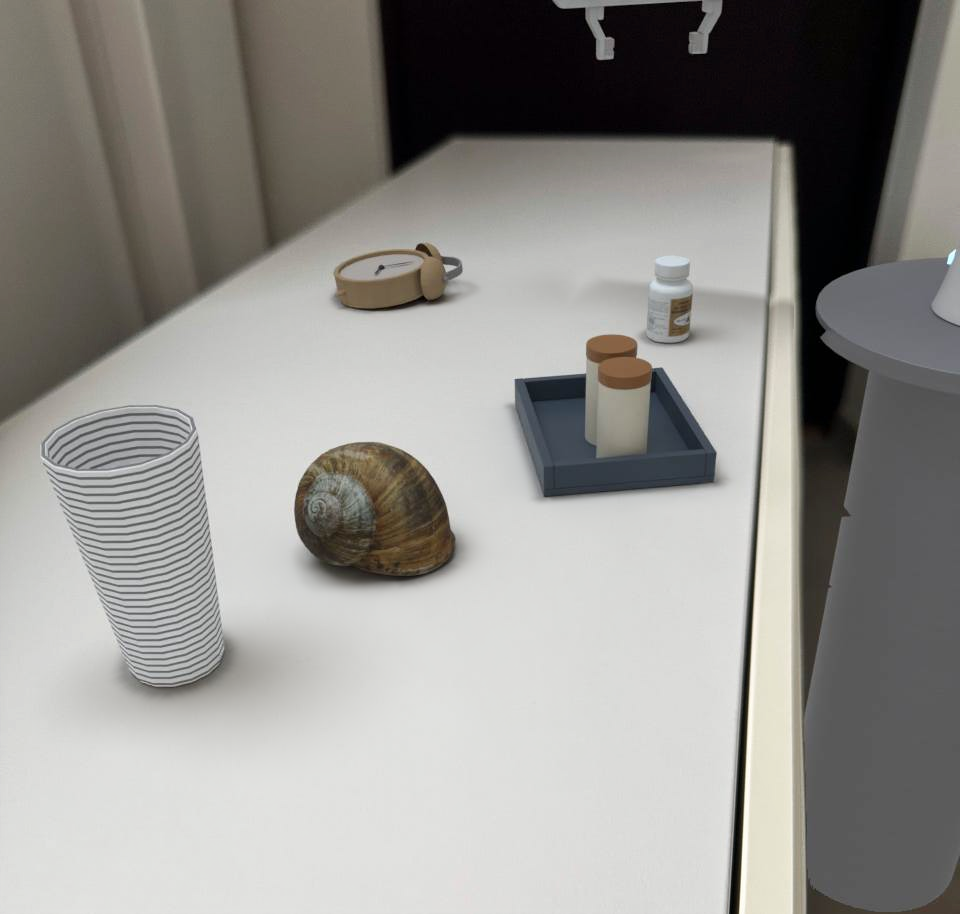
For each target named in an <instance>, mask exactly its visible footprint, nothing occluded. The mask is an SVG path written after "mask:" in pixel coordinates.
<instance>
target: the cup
mask: <svg viewBox="0 0 960 914" xmlns="http://www.w3.org/2000/svg"><path fill="white" fill-rule="evenodd" d="M195 420H196V419H195V418H194V417H192V416H191V415H189V414H188V413H186V412H184V411H182V410H181V409H179V408H174V407H169V406H163V405H160V404H159V405H158V404H135V405H133V404H132V405H130V404H128V405H124V406H117V407H111V408H105V409H99V410H97V411H93V412H90V413H87V414H84V415H80V416H77V417H75V418H72V419H70V420H69V421H67V422H65V423H63V424H61V425H60V426H58V427H56V428H54V429H52V430H51V432H50V433H48V435H47V436H46V437H45V439H43V441H42V442H41V443H40V447H39V448H40V449H39V450H40V459H41V463H42V464H43V467H44V469H45V472H46V474H47V476H48V479H49V482H50V483H51V485H52V489H53V490H54V493H55V496H56V498H57V500H58V502H59V506H60V507H61V510H62V512H63V514H64V517H65V519H66V521H67V525H68V527H69V529H70V531H71V534H72V536H73V538H74V541H75V544H76V546H77V548H78V551H79V553H80V555H81V557H82V560H83V562H84V565H85V567H86V570H87V572H88V574H89V578H90V579H91V582H92V584H93V586H94V588H95V591H96V594H97V596H98V598H99V601H100V603H101V606H102V608H103V611H104V613H105V615H106V618H107V620H108V622H109V625H110V628H111V630H112V632H113V634H114V637H115V639H116V643H117V644H118V647H119V648H120V651H121V654H122V656H123V658H124V661H125V663H126V666H127V668H128V670H129V673H131V675H133V676H134V678H135V679H137V680H138V681H139V682H140V683H142V684H145V685H149V686H152V687H154V688H155V687H156V688H157V687H158V688H159V687H160V688H161V687H164V688H165V687H168V688H169V687H172V688H173V687H177V686H182V685H186V684H190V683H194V682H196V681H197V680H199V679H201V678H204V677H206V676H208V675H209V674H210V673H211V672H212V671H214V670H215V669H216V668H217V667H218V666H219V665H220V663H221V661H222V659H223V657H224V654H225V651H226V649H225V642H224V634H223V633H224V632H223V625H222V624H223V623H222V618H221V609H220V601H219V592H218V585H217V575H216V569H215V568H216V567H215V559H214V553H213V545H212V536H211V528H210V519H209V512H208V511H209V510H208V504H207V496H206V488H205V478H204V471H203V463H202V455H201V446H200V439H199V431H198V427H197V424H196V421H195Z"/></svg>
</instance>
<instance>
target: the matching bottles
mask: <svg viewBox="0 0 960 914" xmlns="http://www.w3.org/2000/svg"><path fill="white" fill-rule="evenodd" d="M638 346H639V345H638V342H637V340H636V339H635V338H633V337H631V336H628V335H623V334H613V333H612V334H609V333H608V334H600V335H597V336H593V337H590V338H589V339H588V340H587V341H586V343H585V356H586V357H585V358H586V360H585V361H586V362H585V363H586V364H585V373H586V407H585V439H586V440H587V442H589V443H590V444H593V445H595V446H597V448H596V458H603V457H615V456H627V455H639V454H646V452H647V435H648V418H649V401H650V384H651V378H652V368H653V366H652V364H651V363H650V362H649V361H647V360H645V359H642V358H639V357H637V356H638Z"/></svg>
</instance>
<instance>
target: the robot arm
mask: <svg viewBox="0 0 960 914" xmlns="http://www.w3.org/2000/svg"><path fill="white" fill-rule="evenodd" d="M698 1H700V0H552V2H553V4H555V5H556V7H558V8H559V9H580V8H581V9H582V8H585V20H586V23H587V25H588V26H589V29H590V30H591V32H592V34H593V36H594V38H595V39H596V40H595V43H596V44H595V50H596V51H595V57H596V59H597V60H599V61H602V60H603V61H605V60H613V59H614V56H615V51H614V48H615V39H614V38H613V37H611V36H607V37H606V36H605V33H604V31H603V29H602V27H601V24H600V22H599V21H602V20H604V17H605V15H604V14H605V7H614V6H629V5H647V4H661V3H662V4H664V3H679V2H682V3H683V2H698ZM701 1H702V3H701V11H702V12H704V13H705V16H704V17H703V20H702V21H701V23H700V25H699V27H698V29H697V31H690V32H689V33H688V34H689V35H688V41H689V44H688V53H689V54H691V55H697V54H707V53H708V45H709V34H710V33H711V32H712V30H713V28H714V26H715V25H716V23H717V21H718V20H719V18H720V16H721V14H722V12H723V11H722V10H723V0H701ZM948 257H949V258H948ZM948 257H947V258H948V263H947V264H950V267H949V269H948V272H947V274H946V276H945V278H944V280H943V283H942V285H941V287H940V289H939V291H938V293H937V294H936V296H935V298H934V300H933V301H932V304H931V308H932V310H933V311H934V312H935V313H936V314H937V315H938V316H939V317H941V318H943V319H944V320H946V321H948V322H951V323H953V324H956V325H959V326H960V238H959V240H958V242H957V246H956V249H954V250H953V251H952V252H951V253H950V254H949V255H948Z"/></svg>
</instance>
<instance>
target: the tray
mask: <svg viewBox="0 0 960 914" xmlns="http://www.w3.org/2000/svg"><path fill="white" fill-rule="evenodd" d="M514 406H515V409H516V413H517V416H518V420H519V422H520V425H521V428H522V432H523V435H524V438H525V441H526V445H527V447H528V451H529V453H530V457H531V460H532V463H533V466H534V470H535V473H536V476H537V480H538V481H539V486H540V488H541V491H542V495H543V497H554V496H566V495H577V494H578V495H579V494H589V493H601V492H610V491H611V492H613V491H625V490H637V489H648V488H660V487H672V486H684V485H696V484H707V483H714V482H715V474H716V463H717V453H718V452H717V450H716V449H715V447H714V446H713V444H712V443H711V441H710V440H709V438H708V436H707V435H706V433H705V432H704V430H703V428H702V427H701V425H700V424H699V422H698V421H697V419H696V417H695V416H694V415H693V413H692V411H691V410H690V408H689V407H688V405H687V404H686V401H685V400H684V399H683V397H682V396H681V394H680V393H679V392H678V390H677V388H676V386H675V384H673V382H672V380H671V378H670V377H669V376H668V374H667V373H666V371H665V369H664V368H663V366H661V367H652V378H651V384H650V401H649V418H648V435H647V452H646V454H639V455H627V456H615V457H603V458H596V448H597V446H595V445H593V444H590V443H589V442H587V440H586V439H585V407H586V372H585V373H577V374H576V373H575V374H574V373H573V374H562V375H549V376H537V377H536V376H535V377H524V378H523V377H521V378H514Z"/></svg>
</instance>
